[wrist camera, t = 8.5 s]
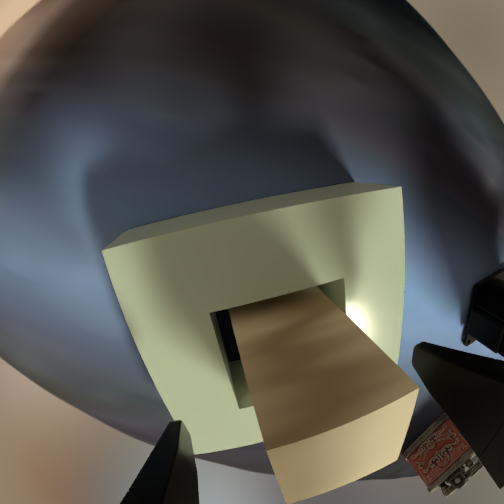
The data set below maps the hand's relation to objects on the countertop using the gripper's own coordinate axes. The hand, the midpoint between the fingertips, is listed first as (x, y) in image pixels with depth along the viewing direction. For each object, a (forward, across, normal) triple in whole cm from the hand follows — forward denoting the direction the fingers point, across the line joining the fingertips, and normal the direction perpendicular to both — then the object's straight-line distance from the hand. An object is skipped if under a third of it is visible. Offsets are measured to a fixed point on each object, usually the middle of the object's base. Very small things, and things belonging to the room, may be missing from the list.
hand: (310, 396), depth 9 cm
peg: (+7, 0, 0) cm, 7 cm away
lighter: (+7, -17, +25) cm, 31 cm away
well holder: (+7, 0, 0) cm, 7 cm away
